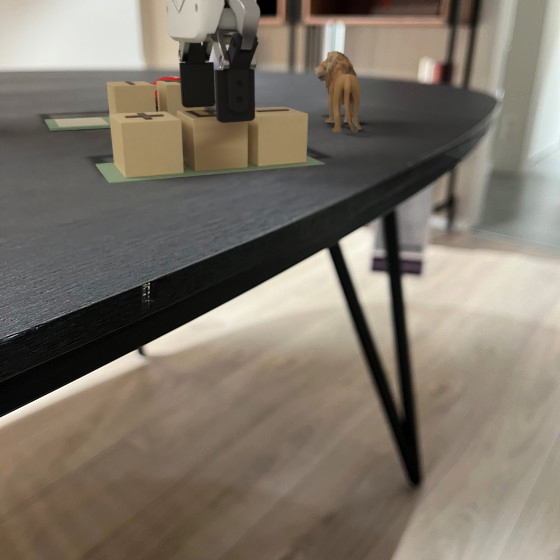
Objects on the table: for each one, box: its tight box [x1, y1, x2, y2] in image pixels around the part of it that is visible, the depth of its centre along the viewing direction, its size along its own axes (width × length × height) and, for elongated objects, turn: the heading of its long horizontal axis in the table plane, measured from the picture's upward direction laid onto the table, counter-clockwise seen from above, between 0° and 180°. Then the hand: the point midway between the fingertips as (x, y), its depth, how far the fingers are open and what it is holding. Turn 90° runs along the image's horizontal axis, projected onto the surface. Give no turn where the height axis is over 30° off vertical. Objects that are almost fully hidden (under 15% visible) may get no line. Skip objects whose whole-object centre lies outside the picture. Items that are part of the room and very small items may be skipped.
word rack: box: [44, 80, 206, 132], centre depth 74 cm, size 22×7×5 cm, turn 115°
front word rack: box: [95, 106, 326, 184], centre depth 52 cm, size 20×7×5 cm, turn 115°
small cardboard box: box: [177, 108, 248, 172], centre depth 52 cm, size 5×5×5 cm
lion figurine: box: [313, 50, 363, 134], centre depth 73 cm, size 15×5×9 cm, turn 10°
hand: (215, 113), depth 51 cm, fingers open, 9 cm apart
